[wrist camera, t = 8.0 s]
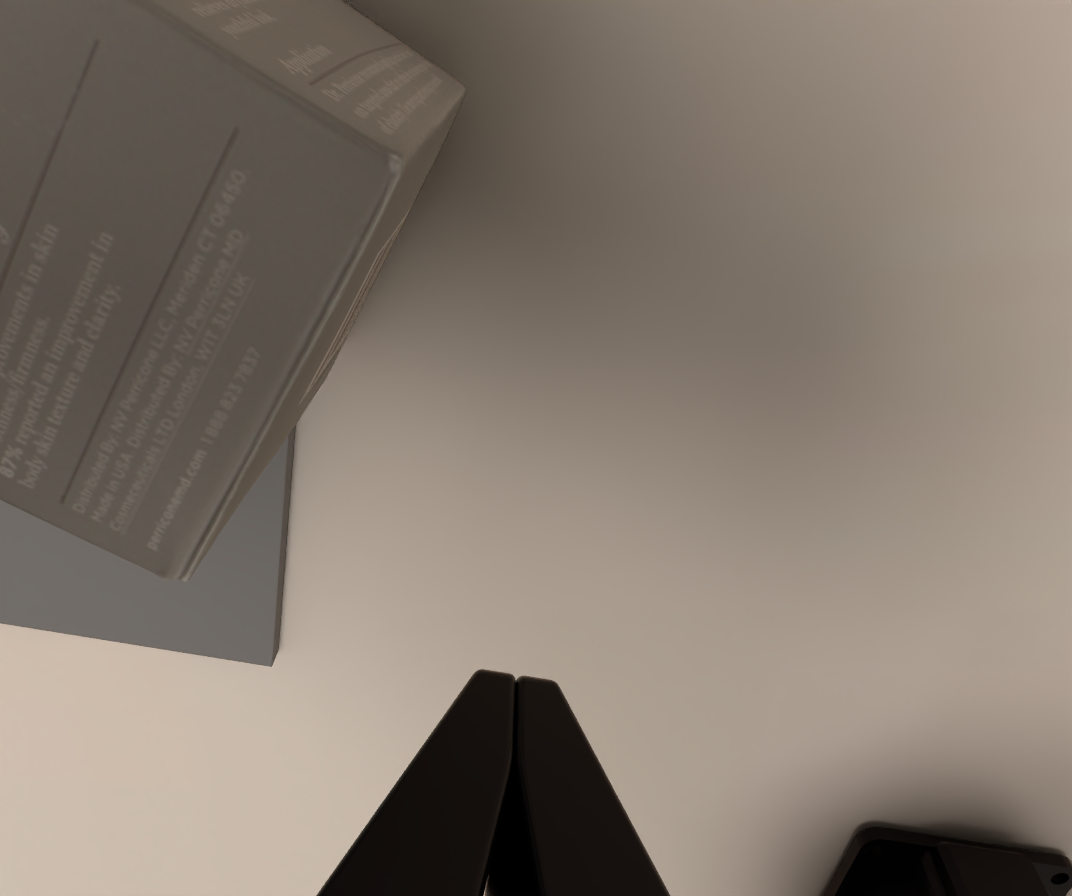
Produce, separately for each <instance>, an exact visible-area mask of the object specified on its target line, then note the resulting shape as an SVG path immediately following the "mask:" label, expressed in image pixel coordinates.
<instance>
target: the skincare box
mask: <svg viewBox="0 0 1072 896" xmlns="http://www.w3.org/2000/svg"><path fill="white" fill-rule="evenodd" d="M465 92H466V89H465V87H464V86H463V85H462V84H461V83H460V82H459V81H458V80H456V79H455V78H454V77H453V76H451V75H450V74H448V73H447V72H445V71H444V70H442V69H441V68H439V67H438V66H436V65H435V64H433V63H432V62H430V61H429V60H427V59H426V58H424V57H423V56H421V55H420V54H418V53H417V52H416V51H414V50H413V49H411V48H410V47H408V46H407V45H405V44H404V43H402V42H401V41H400V40H398V39H397V38H395V37H394V36H392V35H391V34H389V33H388V32H387V31H385V30H384V29H382V28H381V27H379V26H378V25H376V24H375V23H373V22H372V21H371V20H369V19H368V18H366V17H365V16H363V15H362V14H360V13H359V12H358V11H356V10H355V9H353V8H352V7H350V6H349V5H347V4H346V3H344V2H343V1H341V0H0V500H2V501H4V502H6V503H8V504H10V505H12V506H14V507H16V508H18V509H20V510H22V511H25V512H27V513H29V514H31V515H33V516H35V517H37V518H39V519H41V520H43V521H45V522H47V523H49V524H52V525H54V526H56V527H58V528H60V529H62V530H64V531H66V532H68V533H70V534H72V535H74V536H76V537H79V538H81V539H83V540H85V541H87V542H89V543H91V544H93V545H95V546H98V547H100V548H102V549H104V550H106V551H108V552H110V553H112V554H115V555H117V556H119V557H121V558H123V559H125V560H127V561H129V562H131V563H134V564H136V565H138V566H140V567H142V568H144V569H146V570H148V571H151V572H152V573H154V574H156V575H158V576H159V577H161V578H163V579H165V580H181V581H184V582H187V581H189V580H190V578H191V577H192V575H193V573H194V572H195V570H196V568H197V567H198V565H199V564H200V562H201V561H202V560H203V558H204V557H205V555H206V554H207V552H208V550H209V549H210V547H211V546H212V544H213V543H214V541H215V540H216V538H217V537H218V535H219V534H220V532H221V531H222V529H223V528H224V526H225V525H226V523H227V522H228V520H229V519H230V517H231V516H232V514H233V513H234V512H235V510H236V509H237V507H238V506H239V504H240V503H241V501H242V500H243V498H244V497H245V495H246V494H247V492H248V491H249V490H250V488H251V487H252V485H253V484H254V483H255V481H256V480H257V479H258V477H259V476H260V474H261V473H262V472H263V470H264V469H265V468H266V466H267V465H268V464H269V462H270V461H271V460H272V458H273V457H274V456H275V454H276V453H277V451H278V450H279V449H280V447H281V446H282V444H283V443H284V441H285V440H286V438H287V437H288V435H289V433H290V432H291V430H292V429H293V427H294V426H295V424H296V423H297V421H298V420H299V418H300V417H301V415H302V414H303V412H304V411H305V409H306V408H307V406H308V405H309V403H310V402H311V400H312V399H313V397H314V395H315V394H316V392H317V391H318V389H319V388H320V386H321V385H322V383H323V382H324V380H325V379H326V377H327V375H328V373H329V371H330V370H331V368H332V366H333V364H334V362H335V360H336V358H337V356H338V354H339V352H340V350H341V347H342V345H343V343H344V341H345V339H346V337H347V335H348V333H349V331H350V329H351V327H352V325H353V323H354V321H355V319H356V317H357V315H358V313H359V311H360V309H361V307H362V305H363V303H364V301H365V299H366V297H367V295H368V293H369V291H370V289H371V287H372V285H373V283H374V281H375V279H376V277H377V275H378V273H379V271H380V269H381V267H382V265H383V263H384V261H385V259H386V257H387V255H388V253H389V251H390V249H391V247H392V245H393V243H394V241H395V239H396V237H397V235H398V233H399V231H400V229H401V227H402V225H403V223H404V221H405V219H406V217H407V215H408V213H409V211H410V209H411V207H412V205H413V203H414V201H415V199H416V197H417V195H418V193H419V191H420V189H421V187H422V185H423V183H424V181H425V179H426V177H427V175H428V173H429V171H430V169H431V167H432V165H433V163H434V161H435V159H436V157H437V155H438V153H439V151H440V149H441V147H442V145H443V143H444V140H445V138H446V136H447V134H448V132H449V130H450V128H451V126H452V124H453V121H454V119H455V117H456V115H457V112H458V110H459V108H460V105H461V103H462V100H463V98H464V96H465Z"/></svg>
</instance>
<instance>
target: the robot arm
mask: <svg viewBox="0 0 1072 896" xmlns="http://www.w3.org/2000/svg"><path fill="white" fill-rule="evenodd" d="M485 886H486V887H485ZM1071 888H1072V863H1071V861H1070V860H1069V859H1068V858H1067V857H1065V856H1062V855H1056V854H1049V853H1043V852H1036V851H1030V850H1023V849H1017V848H1010V847H1004V846H998V845H991V844H985V843H978V842H972V841H965V840H959V839H952V838H946V837H939V836H933V835H927V834H920V833H914V832H907V831H901V830H894V829H888V828H881V827H871V828H867V829H865V830H863V831H861V832H860V833H859V834H858V835H857V836H856V838H855V840H854V842H853V843H852V845H851V847H850V849H849V851H848V852H847V854H846V856H845V858H844V860H843V862H842V863H841V865H840V867H839V869H838V871H837V873H836V874H835V876H834V878H833V880H832V882H831V884H830V885H829V887H828V889H827V891H826V893H825V895H824V896H1066V894H1067V893H1068V892H1069V890H1070V889H1071ZM484 891H485V896H670V894H669V892H668V891H667V889H666V887H665V885H664V883H663V881H662V879H661V877H660V875H659V874H658V872H657V870H656V868H655V866H654V864H653V862H652V860H651V859H650V857H649V855H648V853H647V851H646V849H645V847H644V845H643V843H642V842H641V840H640V838H639V836H638V834H637V832H636V830H635V828H634V827H633V825H632V823H631V821H630V819H629V817H628V815H627V813H626V811H625V810H624V808H623V806H622V804H621V802H620V800H619V798H618V796H617V795H616V793H615V791H614V789H613V787H612V785H611V783H610V781H609V779H608V778H607V776H606V774H605V772H604V770H603V768H602V766H601V764H600V763H599V761H598V759H597V757H596V755H595V753H594V751H593V749H592V747H591V746H590V744H589V742H588V740H587V738H586V736H585V734H584V732H583V731H582V729H581V727H580V725H579V723H578V721H577V719H576V717H575V715H574V714H573V712H572V710H571V708H570V706H569V704H568V702H567V700H566V699H565V697H564V695H563V693H562V691H561V689H560V687H559V686H558V684H557V683H556V682H554V681H552V680H548V679H541V678H535V677H529V676H521V677H519V678H518V679H517V680H515V677H514V676H513V675H512V674H509V673H503V672H497V671H490V670H484V669H480V670H478V671H476V672H475V673H474V674H473V675H472V677H471V678H470V680H469V681H468V682H467V684H466V685H465V687H464V688H463V690H462V691H461V692H460V694H459V695H458V697H457V698H456V699H455V701H454V702H453V704H452V705H451V706H450V708H449V709H448V711H447V712H446V714H445V715H444V716H443V718H442V719H441V721H440V722H439V723H438V725H437V726H436V728H435V729H434V730H433V732H432V733H431V735H430V736H429V737H428V739H427V740H426V742H425V743H424V745H423V746H422V747H421V749H420V750H419V752H418V753H417V754H416V756H415V757H414V759H413V760H412V761H411V763H410V764H409V766H408V767H407V769H406V770H405V771H404V773H403V774H402V776H401V777H400V778H399V780H398V781H397V783H396V784H395V785H394V787H393V788H392V790H391V791H390V793H389V794H388V795H387V797H386V798H385V800H384V801H383V802H382V804H381V805H380V807H379V808H378V809H377V811H376V812H375V814H374V815H373V816H372V818H371V819H370V821H369V822H368V824H367V825H366V826H365V828H364V829H363V831H362V832H361V833H360V835H359V836H358V838H357V839H356V840H355V842H354V843H353V845H352V846H351V848H350V849H349V850H348V852H347V853H346V855H345V856H344V857H343V859H342V860H341V862H340V863H339V864H338V866H337V867H336V869H335V870H334V871H333V873H332V874H331V876H330V877H329V879H328V880H327V881H326V883H325V884H324V886H323V887H322V888H321V890H320V891H319V893H318V894H317V895H316V896H483V895H484Z"/></svg>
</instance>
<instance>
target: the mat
mask: <svg viewBox="0 0 1072 896" xmlns="http://www.w3.org/2000/svg"><path fill="white" fill-rule="evenodd" d="M294 437H295V426H294V427H293V429H292V430H291V432H290V433H289V435H288V437H287V438H286V440H285V441H284V443H283V444H282V446H281V447H280V449H279V450H278V451H277V453H276V454H275V456H274V457H273V458H272V460H271V461H270V462H269V464H268V465H267V466H266V468H265V469H264V470H263V472H262V473H261V474H260V476H259V477H258V479H257V480H256V481H255V483H254V484H253V485H252V487H251V488H250V490H249V491H248V492H247V494H246V495H245V497H244V498H243V500H242V501H241V503H240V504H239V506H238V507H237V509H236V510H235V512H234V513H233V514H232V516H231V517H230V519H229V520H228V522H227V523H226V525H225V526H224V528H223V529H222V531H221V532H220V534H219V535H218V537H217V538H216V540H215V541H214V543H213V544H212V546H211V547H210V549H209V550H208V552H207V554H206V555H205V557H204V558H203V560H202V561H201V562H200V564H199V565H198V567H197V568H196V570H195V572H194V573H193V575H192V577H191V578H190V580H189V581H187V582H184V581H181V580H165V579H163V578H161V577H159V576H158V575H156V574H154V573H152V572H151V571H148V570H146V569H144V568H142V567H140V566H138V565H136V564H134V563H131V562H129V561H127V560H125V559H123V558H121V557H119V556H117V555H115V554H112V553H110V552H108V551H106V550H104V549H102V548H100V547H98V546H95V545H93V544H91V543H89V542H87V541H85V540H83V539H81V538H79V537H76V536H74V535H72V534H70V533H68V532H66V531H64V530H62V529H60V528H58V527H56V526H54V525H52V524H49V523H47V522H45V521H43V520H41V519H39V518H37V517H35V516H33V515H31V514H29V513H27V512H25V511H22V510H20V509H18V508H16V507H14V506H12V505H10V504H8V503H6V502H4V501H2V500H0V623H2V624H8V625H15V626H21V627H27V628H33V629H39V630H46V631H52V632H58V633H64V634H71V635H77V636H83V637H89V638H96V639H102V640H108V641H114V642H120V643H127V644H133V645H139V646H145V647H152V648H158V649H164V650H170V651H177V652H183V653H189V654H195V655H202V656H208V657H214V658H220V659H226V660H233V661H239V662H245V663H251V664H258V665H264V666H270V667H272V665H273V662H274V660H275V658H276V655H277V653H278V648H279V635H280V621H281V608H282V595H283V582H284V569H285V555H286V542H287V529H288V516H289V503H290V489H291V476H292V463H293V450H294Z"/></svg>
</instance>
